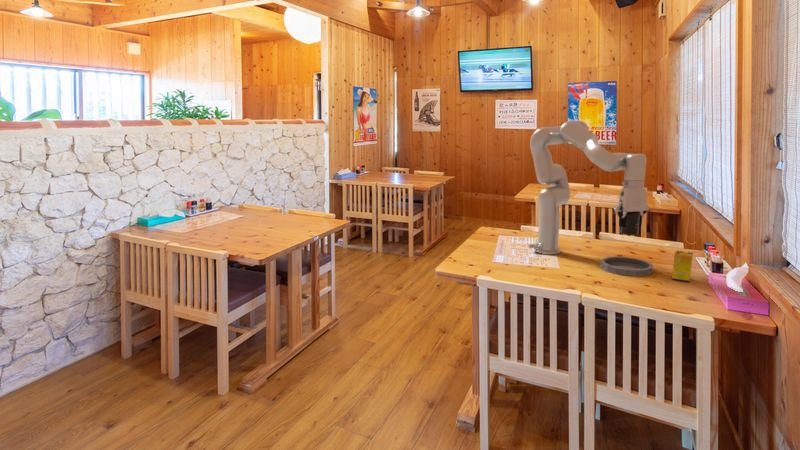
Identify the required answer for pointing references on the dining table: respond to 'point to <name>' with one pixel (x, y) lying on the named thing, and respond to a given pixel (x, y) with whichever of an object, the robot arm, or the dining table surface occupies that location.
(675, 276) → the supplement box
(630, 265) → the round tray
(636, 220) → the supplement bottle
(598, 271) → the dining table surface
